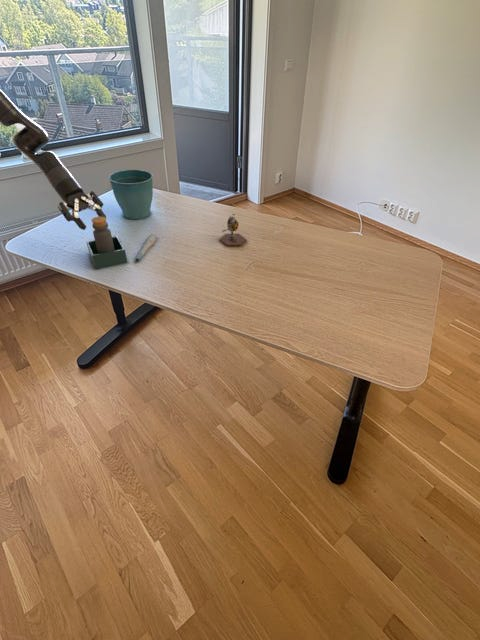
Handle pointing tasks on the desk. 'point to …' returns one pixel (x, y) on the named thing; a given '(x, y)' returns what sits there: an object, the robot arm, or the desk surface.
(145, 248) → the pen
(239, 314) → the desk surface
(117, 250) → the green open box
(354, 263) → the desk surface
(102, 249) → the bottle
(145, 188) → the flower pot
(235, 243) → the brown figurine on base
